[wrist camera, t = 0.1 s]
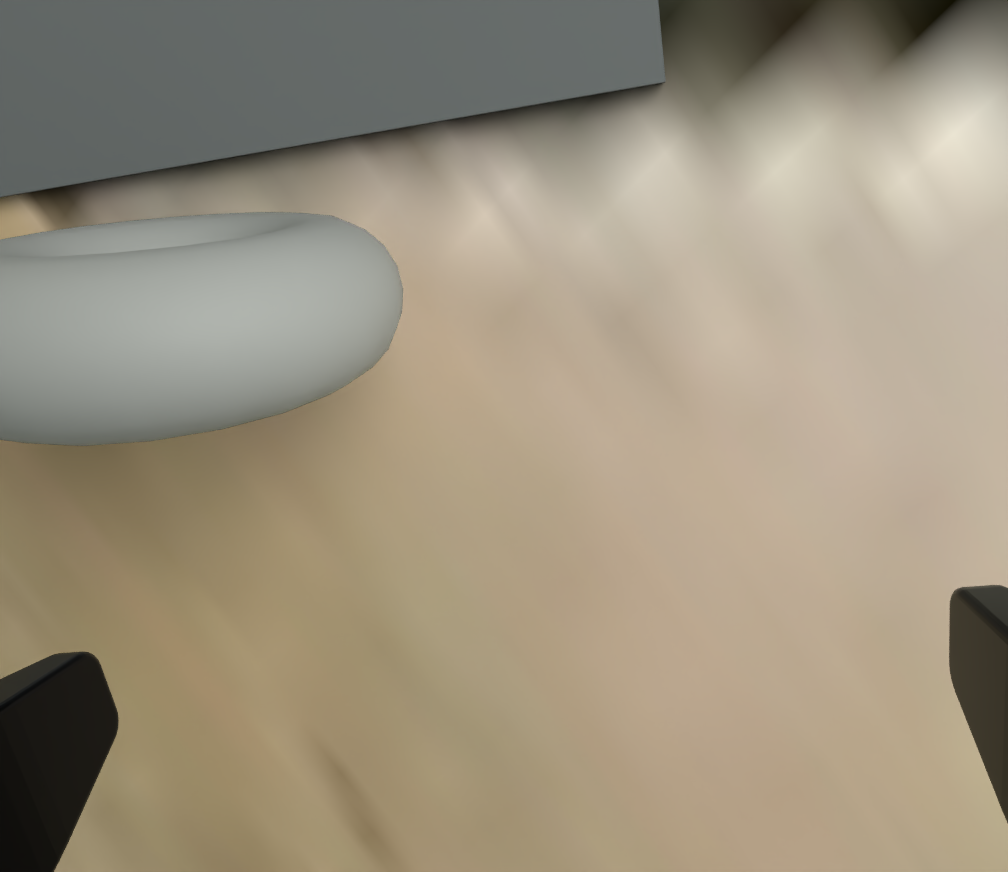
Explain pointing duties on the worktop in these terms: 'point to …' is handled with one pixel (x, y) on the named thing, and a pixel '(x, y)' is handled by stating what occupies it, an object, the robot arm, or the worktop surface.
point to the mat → (285, 74)
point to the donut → (186, 323)
